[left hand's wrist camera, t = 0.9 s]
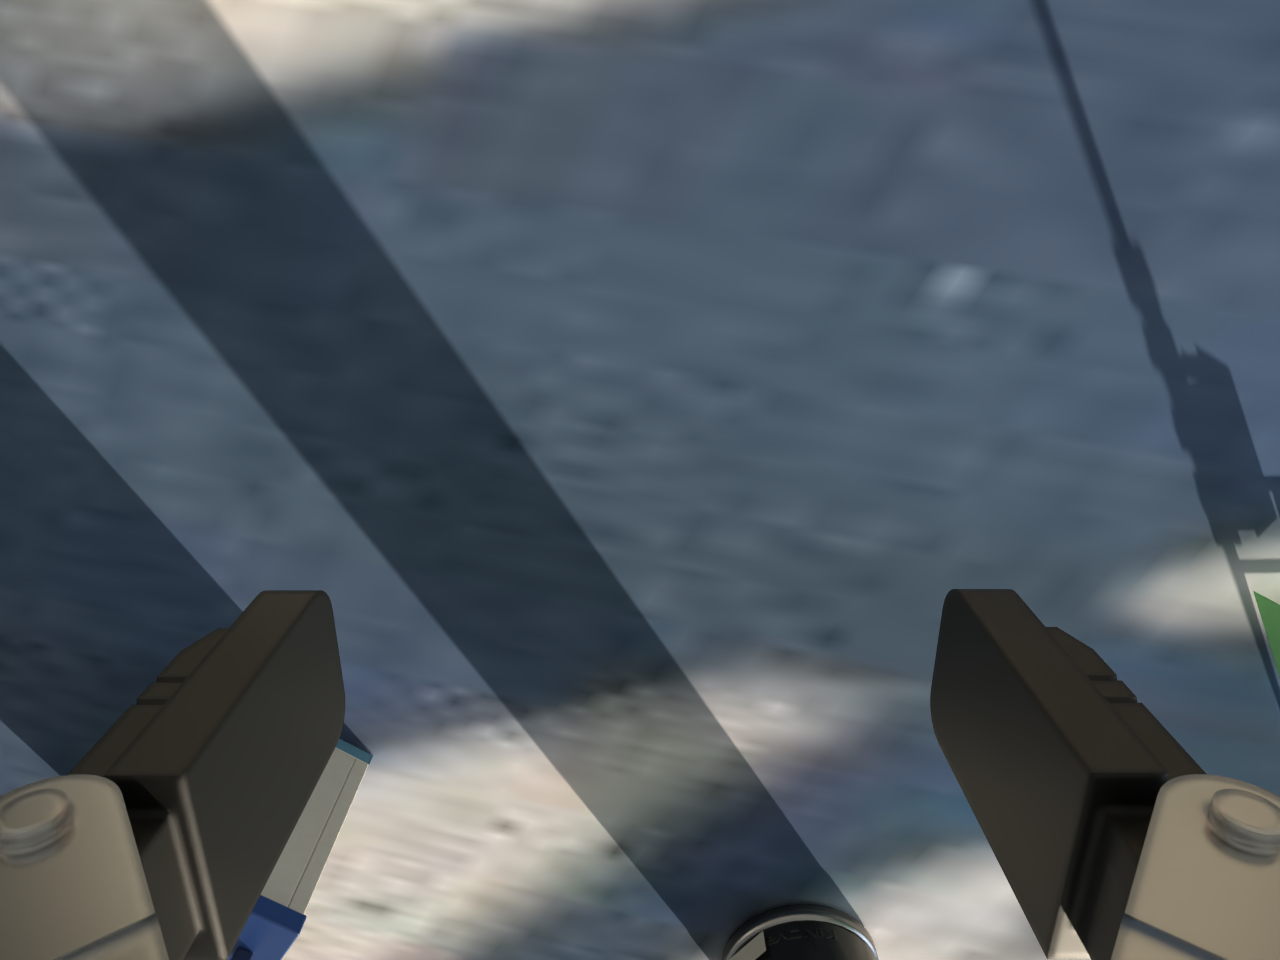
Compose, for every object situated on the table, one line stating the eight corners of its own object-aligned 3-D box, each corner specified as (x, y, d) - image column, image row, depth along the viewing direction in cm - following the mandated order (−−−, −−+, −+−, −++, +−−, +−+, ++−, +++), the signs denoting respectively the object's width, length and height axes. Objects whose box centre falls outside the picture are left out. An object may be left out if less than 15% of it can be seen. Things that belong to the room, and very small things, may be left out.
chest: (210, 672, 45) (84, 829, 35) (373, 755, 47) (298, 927, 37) (118, 831, 49) (-21, 1014, 39) (271, 901, 51) (179, 1094, 41)
